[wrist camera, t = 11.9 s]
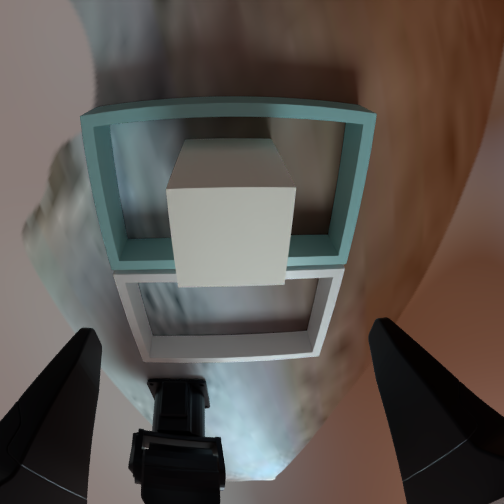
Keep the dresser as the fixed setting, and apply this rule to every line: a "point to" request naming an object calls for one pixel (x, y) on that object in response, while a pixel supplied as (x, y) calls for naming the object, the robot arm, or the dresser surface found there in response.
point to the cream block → (230, 213)
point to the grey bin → (229, 345)
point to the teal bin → (100, 118)
